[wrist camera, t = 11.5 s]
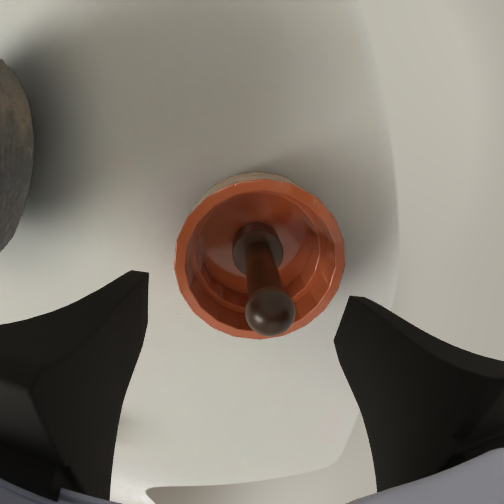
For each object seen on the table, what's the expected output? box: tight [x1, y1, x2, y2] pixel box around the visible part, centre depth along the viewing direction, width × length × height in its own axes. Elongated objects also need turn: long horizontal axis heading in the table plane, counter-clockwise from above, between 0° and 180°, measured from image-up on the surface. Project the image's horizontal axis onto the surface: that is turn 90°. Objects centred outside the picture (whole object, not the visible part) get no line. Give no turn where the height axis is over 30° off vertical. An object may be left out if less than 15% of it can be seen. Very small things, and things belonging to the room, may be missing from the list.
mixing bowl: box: [174, 172, 345, 339], centre depth 19 cm, size 9×9×4 cm
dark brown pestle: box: [232, 222, 295, 337], centre depth 16 cm, size 3×3×10 cm
